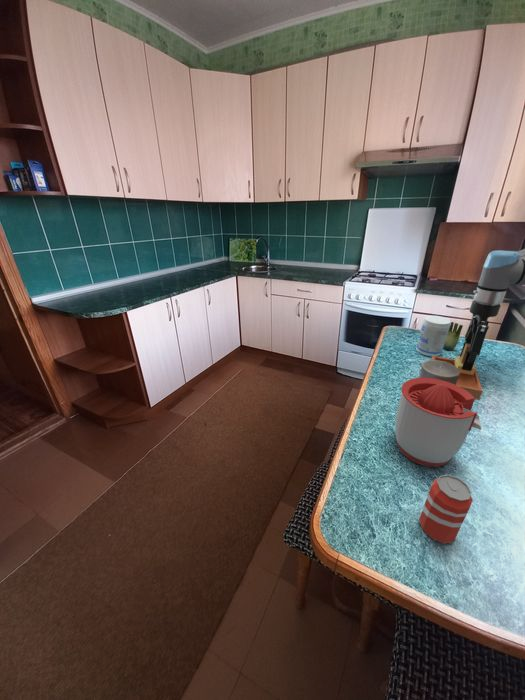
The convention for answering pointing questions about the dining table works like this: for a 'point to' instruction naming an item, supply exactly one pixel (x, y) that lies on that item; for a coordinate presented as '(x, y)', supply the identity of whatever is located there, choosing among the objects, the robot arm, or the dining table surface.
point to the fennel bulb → (452, 336)
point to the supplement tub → (433, 335)
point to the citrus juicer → (433, 420)
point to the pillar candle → (439, 371)
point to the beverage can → (445, 508)
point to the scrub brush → (460, 361)
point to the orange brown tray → (466, 379)
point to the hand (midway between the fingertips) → (465, 364)
